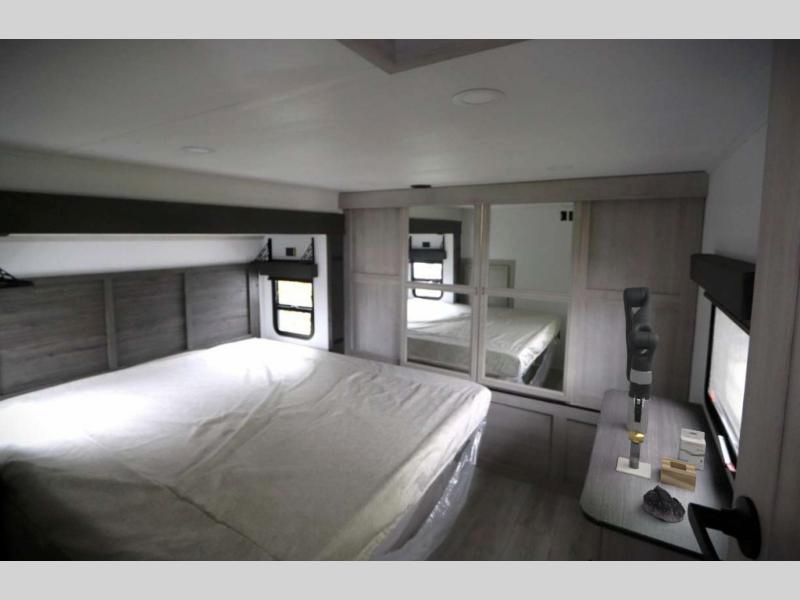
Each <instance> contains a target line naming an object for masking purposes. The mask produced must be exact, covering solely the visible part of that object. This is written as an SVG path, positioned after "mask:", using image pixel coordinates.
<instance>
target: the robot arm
mask: <svg viewBox="0 0 800 600" xmlns="http://www.w3.org/2000/svg"><path fill="white" fill-rule="evenodd" d="M622 294H623V295H622V296H623V297H622V299H623V308H624V309H623V310H624V317H625V345H626V367H625V368H626V372H625V373H626V374H625V375H626V376H625V377H626V380H627V381H628V382H629V385H628V386H629V388H628V389H629V390H628V396H627V409H626V410H627V411H626V412H627V413H626V425H625V428H626V430H627V431H629V430H638V431H641V432H643V433H644V434H647V433H648V426H649V415H650V414H649V413H650V402H651V401H650V400H651V393H652V391H651V390H652V381H653V375H654V373H653V367H652V366H653V359H654V355H655V354H656V351H657V349H658V346H659V344H660V337H659V335H658V334H657V333H656V332H653V330H652V329H653V326H652V319H651V314H652V302H653V301H652V291H651V289H650V288H649V287H647V286H636V287H626V288H624V289H623V293H622ZM633 308H638V310H637V311H635V312H634V311H633ZM644 351H645V352H644ZM642 352H643V353H642Z"/></svg>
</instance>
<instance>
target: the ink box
mask: <svg viewBox="0 0 800 600" xmlns="http://www.w3.org/2000/svg"><path fill="white" fill-rule="evenodd" d="M706 445H707V444H706V440H705V432H704V431H699V430H695V429H689V428H683V427H682V428H681V431H680V437H679V445H678V446H679V447H678V454H677V460H681V461H685V462H690V463H694V464H695V470H699V471H704V463H705V455H706Z"/></svg>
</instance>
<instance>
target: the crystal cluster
mask: <svg viewBox="0 0 800 600" xmlns="http://www.w3.org/2000/svg"><path fill="white" fill-rule="evenodd" d="M642 500H643V501H642V502H643V503H642V507H643V509H644V510H645V511H646V512H647V513H649V514H650V515H652V516H653V517H655V518H658V519H661V520H664V521H665V522H668V523H677V522H681V521H683V520H684V518H685V514H686V510H685V506H684V505H682V502H680V500H678V499H677V498H676V497H672V495H671V494H670V493H669V492H668V491H667V490H666V489H664V488H662V487H661V486H660V485H656V486H655V487H654V488H653V489H650V490H647V492H645V494H643V497H642Z"/></svg>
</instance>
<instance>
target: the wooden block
mask: <svg viewBox="0 0 800 600" xmlns="http://www.w3.org/2000/svg"><path fill="white" fill-rule="evenodd" d="M660 463H661V464H660V480H659V481H660V484H664V485H667V486H672V487H676V488H679V489H683V490H686V491H692V492H694V493H695V491H696V483H697V473H696V469H695V464H694V463H690V462H685V461H681V460H678V459H676V458H671V457H667V456H661V461H660Z"/></svg>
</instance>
